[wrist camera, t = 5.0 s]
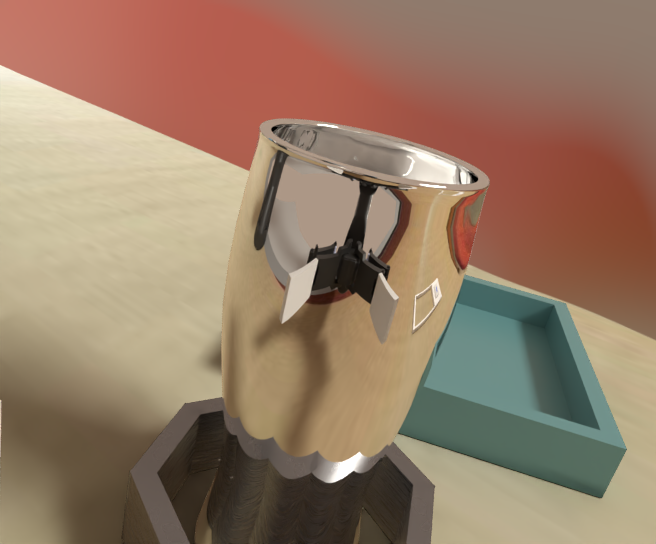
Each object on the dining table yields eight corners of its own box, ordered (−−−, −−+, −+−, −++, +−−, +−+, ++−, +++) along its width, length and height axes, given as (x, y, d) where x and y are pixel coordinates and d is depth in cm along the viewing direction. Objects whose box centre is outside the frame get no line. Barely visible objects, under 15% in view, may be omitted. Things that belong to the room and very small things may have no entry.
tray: (254, 386, 31) (264, 337, 30) (327, 272, 48) (335, 237, 46) (601, 498, 29) (626, 449, 28) (551, 338, 45) (565, 303, 44)
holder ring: (69, 610, 18) (74, 538, 17) (204, 421, 28) (213, 367, 26) (394, 735, 17) (423, 666, 16) (418, 493, 26) (438, 439, 25)
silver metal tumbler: (286, 453, 27) (366, 122, 21) (403, 563, 23) (542, 186, 17) (144, 518, 22) (200, 109, 16) (261, 673, 18) (390, 194, 12)
